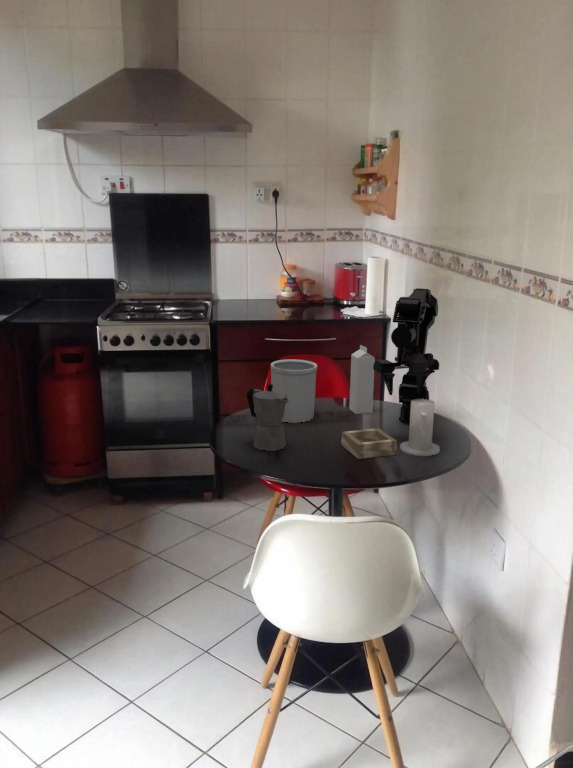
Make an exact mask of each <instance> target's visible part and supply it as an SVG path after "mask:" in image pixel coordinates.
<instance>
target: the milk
mask: <svg viewBox="0 0 573 768" xmlns="http://www.w3.org/2000/svg"><path fill="white" fill-rule="evenodd" d="M350 356H351V358H350V384H349V386H350V387H349V406H348V407H349V408H348V409H349V410H350V411H351V412H353V413H354V414H355V415H361V414H373V408H374V407H373V405H374V404H373V403H374V402H373V401H374V383H375V370H374V369H373V366H374V363H375V361H376V358H375V356H373V355H371V354H370V353H368V347H366V346H365V345H363V344H360V345H359V349H358V350H356V351H354V352H353V353H351V355H350Z"/></svg>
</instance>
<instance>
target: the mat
mask: <svg viewBox="0 0 573 768" xmlns="http://www.w3.org/2000/svg"><path fill="white" fill-rule="evenodd" d="M408 442H409V440H406V441H403V442H401V443H400V444H399V449H400V451H401V452H403V453H404V454H406V455H410V456H414V457H433V456H432V455H434V456H436V454H437V455H438V454H439V453H440V452H441V448H440V447H441V446H439V445H438V444H436V443H434V442H432V447H431V449H430V450H425V451H420V450H414V449H411V448H409V447H408Z"/></svg>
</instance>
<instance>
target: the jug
mask: <svg viewBox="0 0 573 768" xmlns="http://www.w3.org/2000/svg"><path fill="white" fill-rule="evenodd" d="M434 416H435V401H433V400H431V399H429V400H427V399H414V400H412V401H411V410H410V424H409V427H408V430H409V431H408V441H409V442H408V447H409V448H411V449H414V450H420V451H425V450H430V449H431V447H432V443H433V429H434V418H435V417H434Z"/></svg>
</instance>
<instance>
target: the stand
mask: <svg viewBox="0 0 573 768" xmlns="http://www.w3.org/2000/svg"><path fill="white" fill-rule="evenodd" d="M340 446H341V447H343V448H344V449H346V450H347V451H348V452H349V453H350V454H352V455H353V456H354V457H355V458H356V459H357V460H360V459H368V458H370V459H371V458H378V457H385V456H386V457H387V456H395V455H397V448H398V447H397V446H398V440H396V439H395V438H393V437H392V436H390V435H389V434H388V433H386V432H385V431H383V430H381V429H380V428H379V427H378V428H367V429H358V430H357V429H356V430H346V431H341V445H340Z"/></svg>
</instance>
